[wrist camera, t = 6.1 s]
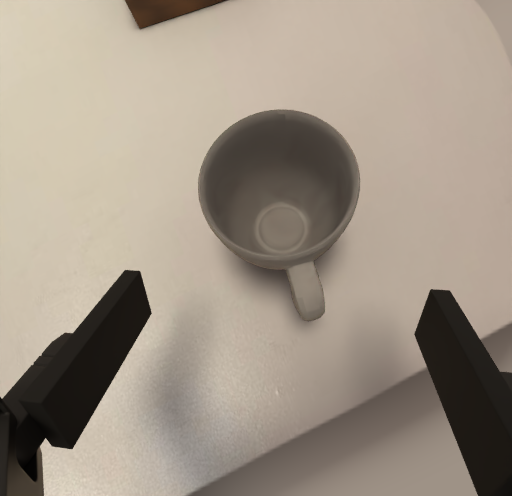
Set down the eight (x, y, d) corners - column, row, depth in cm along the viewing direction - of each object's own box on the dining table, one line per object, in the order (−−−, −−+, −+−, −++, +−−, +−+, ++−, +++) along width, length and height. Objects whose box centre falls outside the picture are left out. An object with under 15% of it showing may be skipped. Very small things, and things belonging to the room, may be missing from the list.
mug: (219, 197, 27) (181, 133, 18) (316, 168, 27) (330, 87, 17) (254, 334, 24) (231, 344, 15) (363, 304, 24) (411, 295, 14)
